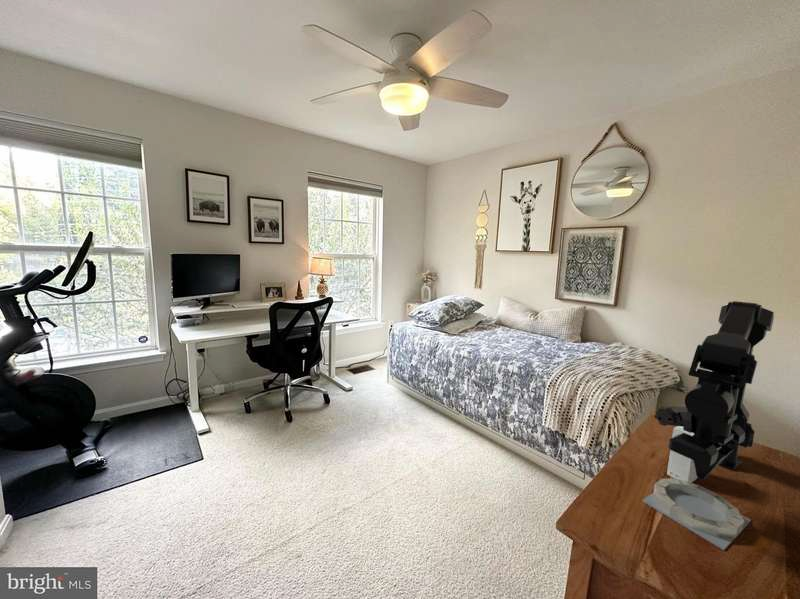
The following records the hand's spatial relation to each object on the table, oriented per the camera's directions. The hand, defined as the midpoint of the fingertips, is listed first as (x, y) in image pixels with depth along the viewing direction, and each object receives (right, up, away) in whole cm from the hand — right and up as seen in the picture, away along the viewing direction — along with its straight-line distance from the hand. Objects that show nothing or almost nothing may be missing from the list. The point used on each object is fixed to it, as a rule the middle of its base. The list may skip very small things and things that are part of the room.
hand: (700, 477), depth 66 cm
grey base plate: (0, -8, +1) cm, 8 cm away
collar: (0, -8, +1) cm, 8 cm away
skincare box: (+7, -6, +12) cm, 15 cm away
